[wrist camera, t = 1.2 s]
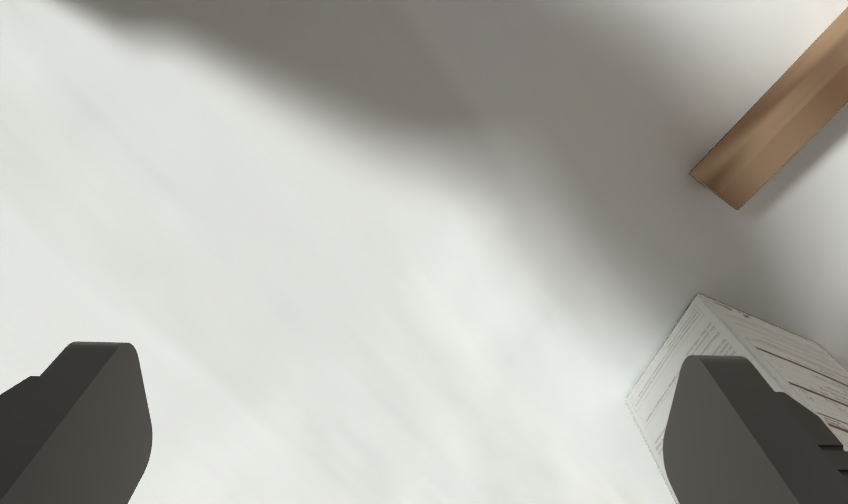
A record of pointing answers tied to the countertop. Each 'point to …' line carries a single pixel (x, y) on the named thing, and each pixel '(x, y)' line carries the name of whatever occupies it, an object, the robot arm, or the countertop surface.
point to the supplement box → (753, 339)
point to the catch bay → (780, 120)
